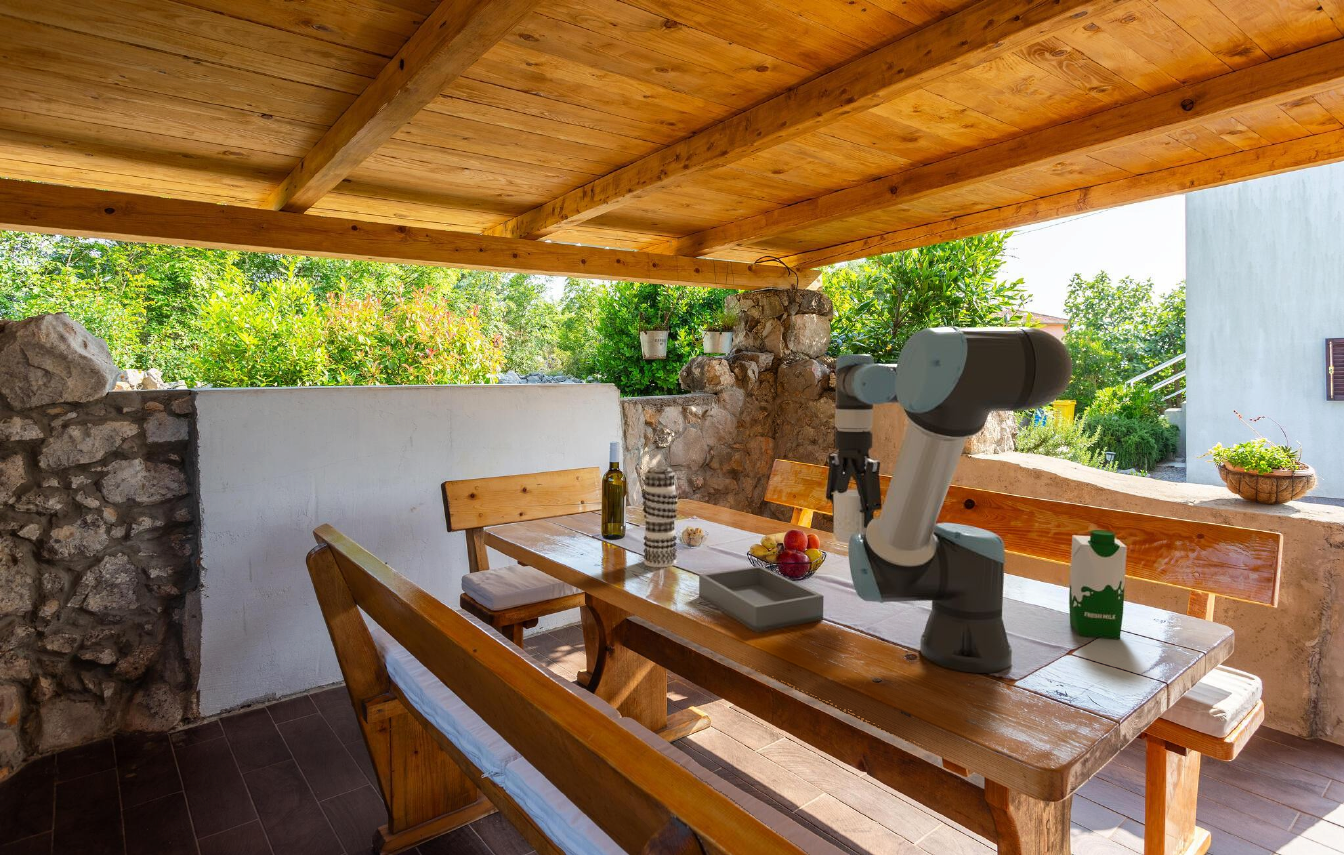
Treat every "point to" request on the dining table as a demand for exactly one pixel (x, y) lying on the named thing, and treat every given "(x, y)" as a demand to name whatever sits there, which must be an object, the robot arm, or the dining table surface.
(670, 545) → the decorative candle
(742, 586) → the bin
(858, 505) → the white cup
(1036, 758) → the dining table surface
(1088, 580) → the milk carton
